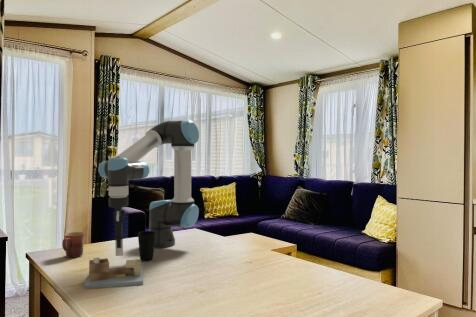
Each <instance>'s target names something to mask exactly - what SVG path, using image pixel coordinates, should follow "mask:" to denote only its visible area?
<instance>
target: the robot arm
mask: <svg viewBox="0 0 476 317" xmlns="http://www.w3.org/2000/svg"><path fill="white" fill-rule="evenodd" d="M199 139H200V132H199V128H198V126H197V124H196V123H195V122H194V121H192V120H187V119H185V120H167V121H166V120H165V121H163V122H160V123H158V124H156V125H155V126H152V127H151V128H150V129H149V130H148V131H147V130H146V132H145V135H144V136H143V137H140V138H139V139H138V140H137V141H136V142H133V144H131V145H130V146H129V147H127V148H126V149H125V150H123V151H122V152H121V153H119V154H118V155H116V156H115V157H110V158H109V159H108V160H104V161H102V162H100V163H99V165H98V169H97V171H98V174H99V176H100V177H101V178H103V179H104V178H105V179H107V181H108V183H107V184H108V187H107V188H106V191H108V196H109V197H108V207H110V208H114V210H113V211H112V216H113V223H114V238H113V241H115V244H114V245H115V246H114V247H115V257H117V256H118V257H120V256H121V257H122V256H123V255H124V239H125V235H124V231H123V230H124V215H125V210H124V209H123V208H125V207H128V206H129V181H133V180H143V179H146V178H147V177H148V176H149V174H150V166H149V164H148V163H147V162H145V161H139V160H141V159H142V158H143V157H144V156H146V155H147V154H148V153H150V152H151V151H152V150H154V149H155V148H159V147H161V145H169V144H170V145H171V149H173V152H174V153H173V158H174V159H173V161H174V162H173V163H174V164H173V168H174V169H173V170H174V172H173V176H174V177H173V180H174V183H173V185H174V186H173V188H174V190H173V193H174V194H173V195H174V196H173V198H172V199H163V200H156V201H151V202H150V204H149V210H148V211H149V213H148V214H149V215H148V216H149V220H148V221H149V224H148V225H149V227H148V228H149V229H148V231H153V232H155V243H154V248H158V249H159V248H168V247H172V246H174V245H175V244H176V238H175V236H174V232H173V227H178V228H179V227H180V228H191V227H193V226H194V225H195V224H196V222H198V218H199V213H200V208H199V207H198V205H196V204H195V199H194V198H193V197H192V150H193V149H194V148H195V144H197V142H199Z"/></svg>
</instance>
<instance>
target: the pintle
mask: <svg viewBox="0 0 476 317" xmlns="http://www.w3.org/2000/svg"><path fill="white" fill-rule="evenodd" d="M100 259H101V258H100V257H94V258H93V259H92V260H93V263H94V264H95V263H99V260H100Z"/></svg>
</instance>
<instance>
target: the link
mask: <svg viewBox="0 0 476 317" xmlns="http://www.w3.org/2000/svg"><path fill="white" fill-rule="evenodd" d="M88 262H89V263H88V276H89V278H90V282H91V281H99V280H107V279H109V278H111V277H117V274H125V276H127V275H134V268H125V267H117V268H109V266H110V261H109V259H108V258H100V260H99V263H95V264H94V263H93V259H89V261H88Z"/></svg>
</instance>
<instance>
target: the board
mask: <svg viewBox="0 0 476 317" xmlns="http://www.w3.org/2000/svg"><path fill="white" fill-rule="evenodd" d="M125 265H126V264H124V265H121V264H120V265H109V268H117V267H125ZM144 271H145V264H144V263H141V276H139V277H135V267H134V275H127V276H125V278H121V279H117V277H111V278H109V279H107V280H99V281H91V282H90V278H89V275H88V276H87V277H86V280H85V282H84V284H83V290H86V289H99V288H100V289H101V288H113V287H114V288H115V287H125V286H128V287H129V286H140V285H142V286H143V285H144V276H145V275H144V273H145V272H144Z"/></svg>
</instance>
